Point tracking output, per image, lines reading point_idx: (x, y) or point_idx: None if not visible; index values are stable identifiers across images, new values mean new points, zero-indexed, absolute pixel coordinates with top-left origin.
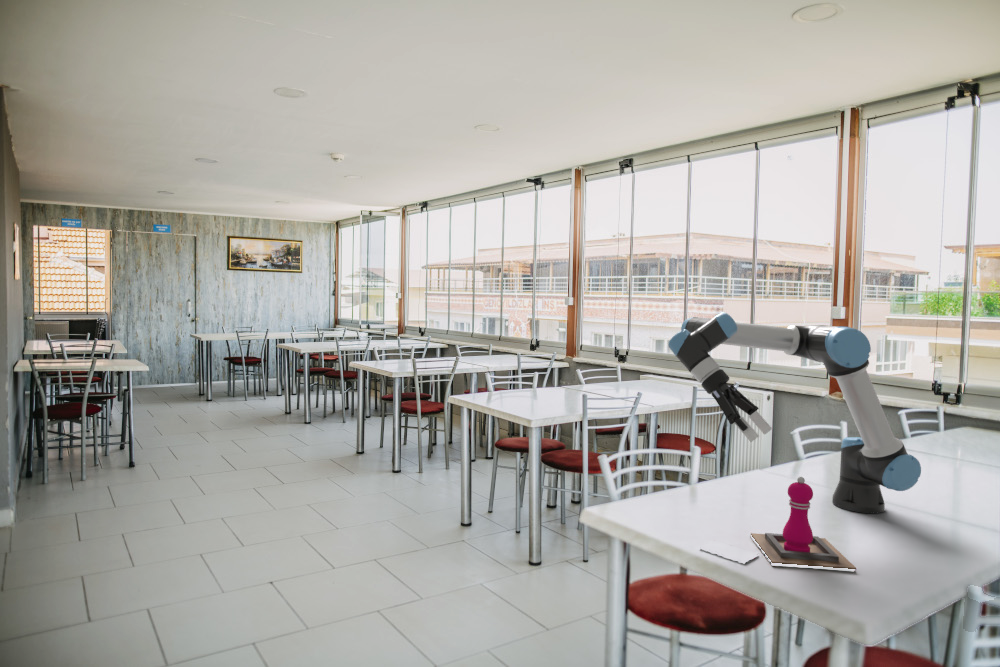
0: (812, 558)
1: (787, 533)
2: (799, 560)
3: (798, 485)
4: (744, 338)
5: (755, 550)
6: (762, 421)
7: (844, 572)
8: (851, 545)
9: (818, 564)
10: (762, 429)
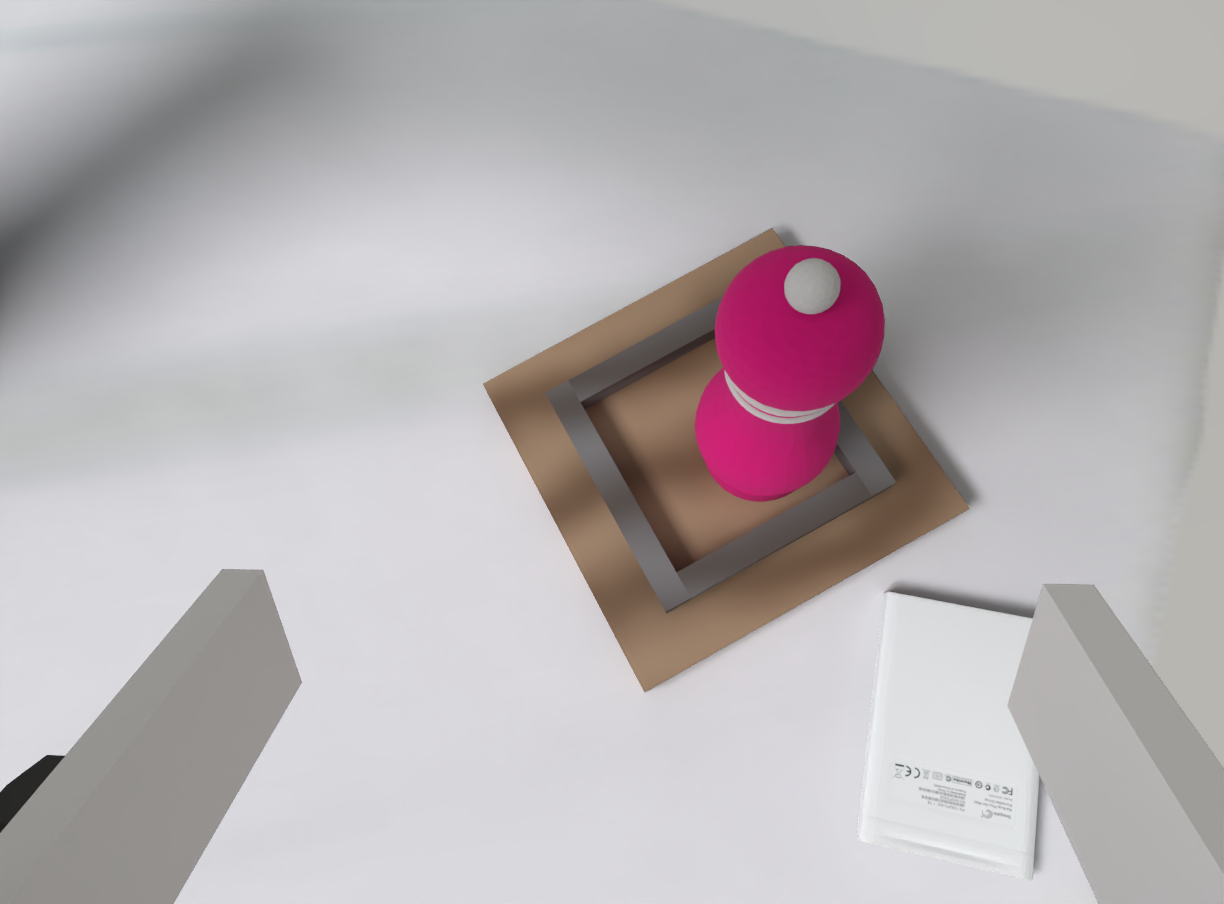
0: None
1: (830, 455)
2: (859, 416)
3: (860, 305)
4: None
5: (814, 624)
6: (170, 741)
7: None
8: (452, 299)
9: None
10: (256, 721)
